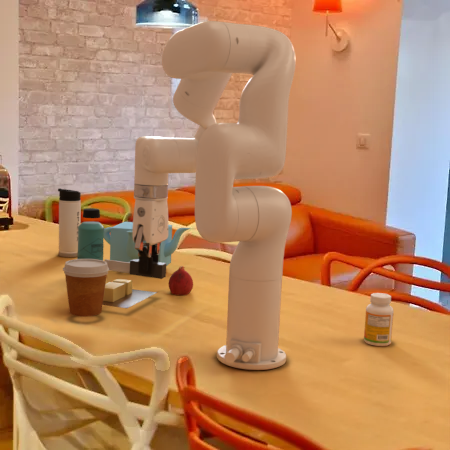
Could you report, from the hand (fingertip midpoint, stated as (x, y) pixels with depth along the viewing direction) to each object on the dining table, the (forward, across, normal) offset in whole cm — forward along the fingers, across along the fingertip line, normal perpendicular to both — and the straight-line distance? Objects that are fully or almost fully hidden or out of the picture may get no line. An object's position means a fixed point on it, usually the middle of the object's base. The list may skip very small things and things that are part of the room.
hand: (148, 271), depth 169 cm
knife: (+1, 0, +4) cm, 4 cm away
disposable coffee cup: (+8, -16, +7) cm, 19 cm away
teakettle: (+8, +31, +15) cm, 36 cm away
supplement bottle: (+7, -5, -53) cm, 54 cm away
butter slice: (+6, +2, +7) cm, 10 cm away
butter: (+6, -4, +7) cm, 10 cm away
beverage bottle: (+8, +6, +18) cm, 21 cm away
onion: (+8, +8, -5) cm, 12 cm away
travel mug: (+9, +40, +44) cm, 60 cm away
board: (+8, -2, +6) cm, 10 cm away
